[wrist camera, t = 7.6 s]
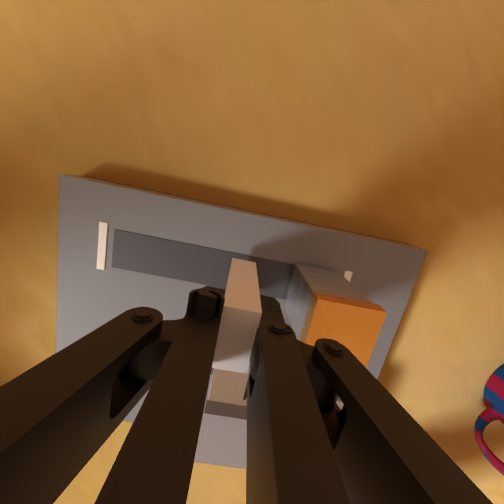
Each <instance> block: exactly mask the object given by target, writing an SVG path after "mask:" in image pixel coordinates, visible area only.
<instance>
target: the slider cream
mask: <svg viewBox="0 0 504 504" xmlns="http://www.w3.org/2000/svg"><path fill="white" fill-rule="evenodd" d="M249 373H250V364H249V368H248V372H247V374H245V373H239V372H233V371H227V370H221V369H215V368H214V370H213V375H212V380H211V386H210V391H209V396H208V400H206V405H205V410H204V415H203V420H202V425H201V430H200V435H199V440H198V445H197V450H196V455H195V460H194V462H199V463H206V464H213V465H220V466H227V467H234V468H241V469H247V397H246V400H243V397H244V393H245V389H246V385H247V381H248V377H249Z"/></svg>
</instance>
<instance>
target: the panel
mask: <svg viewBox="0 0 504 504" xmlns="http://www.w3.org/2000/svg"><path fill="white" fill-rule="evenodd" d="M427 252H428V251H425V250H422V249H420V248H417V247H414V246H411V245H408V244H403V243H398V242H393V241H389V240H384V239H379V238H374V237H369V236H365V235H360V234H355V233H350V232H346V231H341V230H336V229H331V228H327V227H322V226H317V225H312V224H308V223H303V222H298V221H293V220H288V219H284V218H279V217H274V216H269V215H265V214H260V213H255V212H250V211H246V210H241V209H236V208H231V207H227V206H222V205H217V204H212V203H207V202H203V201H198V200H193V199H188V198H184V197H179V196H174V195H169V194H165V193H160V192H155V191H150V190H146V189H141V188H136V187H131V186H126V185H122V184H117V183H112V182H107V181H103V180H98V179H93V178H88V177H84V176H75V175H60V180H59V228H58V277H57V325H56V353H57V352H59V351H61V350H62V349H64V348H66V347H67V346H69V345H71V344H72V343H74V342H75V341H77V340H79V339H80V338H82V337H84V336H85V335H87V334H89V333H90V332H92V331H94V330H95V329H97V328H99V327H100V326H102V325H103V324H105V323H107V322H108V321H110V320H112V319H113V318H115V317H117V316H118V315H120V314H122V313H123V312H125V311H127V310H129V309H132V308H137V307H149V308H154V309H156V310H158V311H160V312H161V313H162V314H163V320H177V319H181V318H184V316H185V314H186V310H187V304H188V298H189V293H190V292H191V291H192V290H194V289H199V288H203V287H205V286H212V287H218V288H223V289H226V287H227V282H228V277H229V272H230V267H231V262H232V258H236V259H241V260H246V261H251V262H256V267H257V276H258V284H259V292H260V295H264V296H269V297H274V298H275V299H276V300H277V301H278V302H279V303H280V307H281V310H282V314H283V317H284V321H285V324H287V325H289V326H290V327H291V328H292V326H291V323H290V320H289V317H288V313H287V310H286V307H285V300H286V296H287V292H288V289H289V285H290V281H291V277H292V273H293V270H294V266H295V263H298V264H303V265H308V266H313V267H318V268H323V269H328V270H333V271H338V272H340V273H341V274H342V275H343V276H344V277H345V278H346V279H347V280H348V281H349V282H350V283H351V284H352V285H354V286H355V287H356V288H357V289H358V290H359V291H360V292H361V293H362V294H363V295H364V296H365V297H367V298H368V299H369V300H370V301H371V302H372V303H374V304H378V305H380V306H381V307H382V308H383V309H384V310H385V311H386V312H387V314H386V317H385V319H384V322H383V325H382V327H381V330H380V333H379V335H378V338H377V341H376V343H375V346H374V349H373V351H372V354H371V357H370V359H369V362H368V365H367V367H366V369H367V370H368V371H369V372H370V373H371V374H372V375H373V376H374V377H375V378H376V379H378V377H379V374H380V372H381V369H382V366H383V364H384V361H385V359H386V356H387V354H388V351H389V349H390V346H391V344H392V341H393V338H394V336H395V333H396V331H397V328H398V326H399V323H400V321H401V318H402V316H403V313H404V310H405V308H406V305H407V303H408V300H409V298H410V295H411V293H412V290H413V288H414V285H415V282H416V280H417V277H418V275H419V272H420V270H421V267H422V265H423V262H424V260H425V257H426V255H427ZM213 370H214V368H212V369H211V375H210V380H209V385H208V390H207V395H206V400H208V396H209V391H210V386H211V380H212V375H213ZM148 391H149V390H148ZM148 391H147V392H146V393H145V395H144V396H143V397H142V398H141V399H140V401H139V402H138V403H137V404H136V405H135V407H134V408H133V409H132V410H131V411H130V412H129V414H128V415H127V416H126V417H125V418H124V420H123V421H129V422H134V420H135V418H136V416H137V414H138V412H139V410H140V408H141V406H142V404H143V402H144V399H145V397H146V395H147V393H148ZM205 405H206V401H205ZM204 410H205V406H204ZM203 415H204V411H203ZM202 420H203V416H202ZM201 425H202V422H201ZM200 430H201V427H200Z"/></svg>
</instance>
